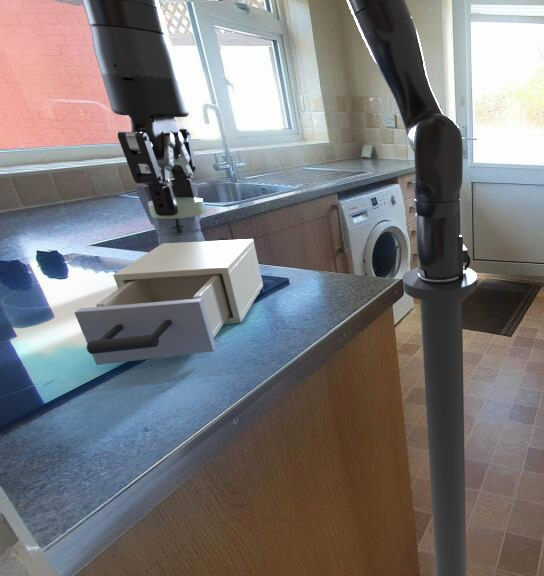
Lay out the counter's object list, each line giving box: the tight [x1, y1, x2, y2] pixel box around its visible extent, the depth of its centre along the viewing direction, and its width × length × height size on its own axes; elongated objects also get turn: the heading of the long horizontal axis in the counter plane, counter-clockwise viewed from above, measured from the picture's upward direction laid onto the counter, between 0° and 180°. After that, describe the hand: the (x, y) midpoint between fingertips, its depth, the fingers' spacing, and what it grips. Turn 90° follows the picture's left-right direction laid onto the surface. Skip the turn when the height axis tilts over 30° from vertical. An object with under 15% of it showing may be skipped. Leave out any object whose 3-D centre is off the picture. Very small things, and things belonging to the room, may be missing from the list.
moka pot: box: [133, 169, 206, 246], centre depth 81 cm, size 10×15×20 cm, turn 44°
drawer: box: [73, 273, 232, 366], centre depth 55 cm, size 20×13×7 cm, turn 18°
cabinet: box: [112, 238, 264, 325], centre depth 68 cm, size 16×14×9 cm
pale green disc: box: [148, 197, 206, 219], centre depth 57 cm, size 6×6×2 cm
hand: (178, 209), depth 57 cm, fingers closed on pale green disc, 6 cm apart
